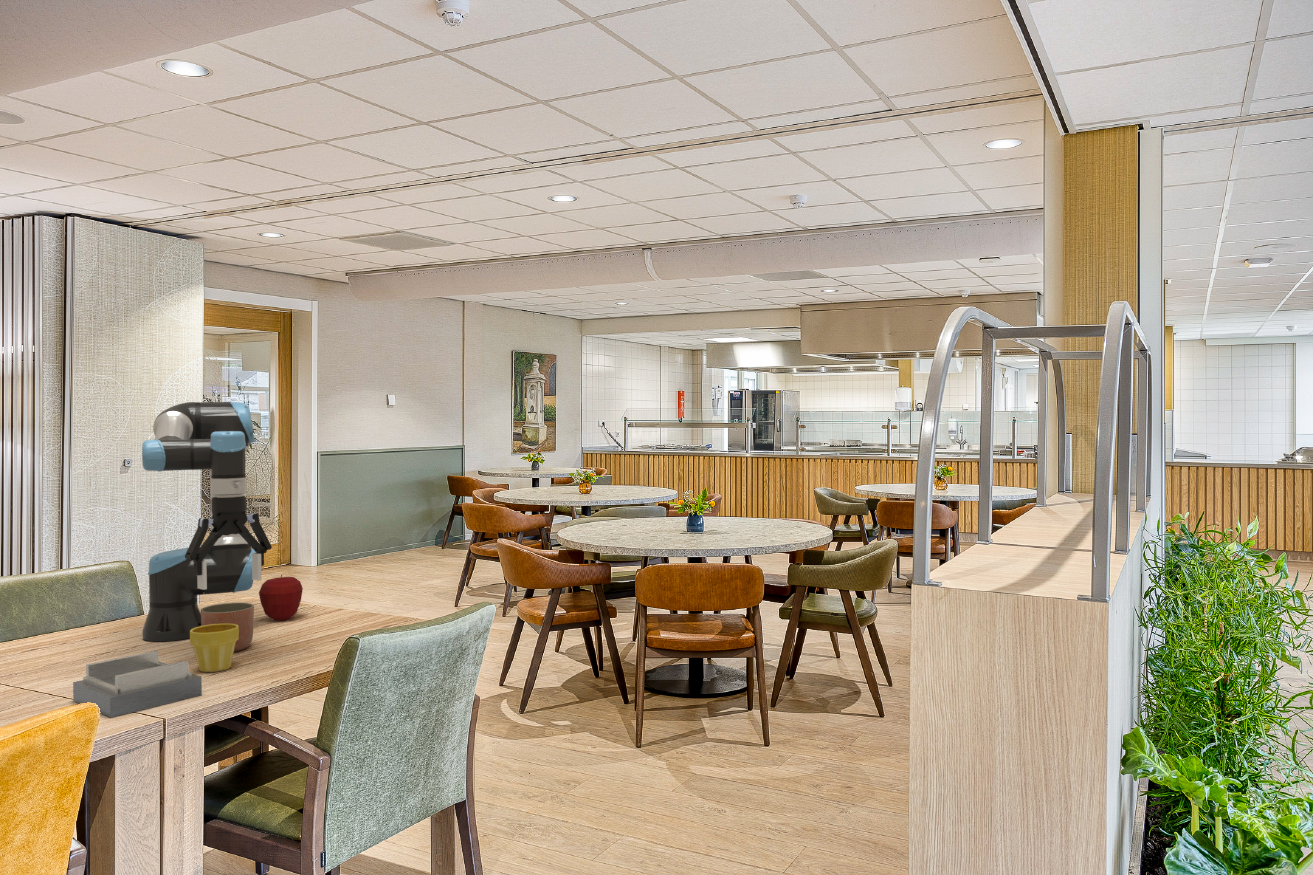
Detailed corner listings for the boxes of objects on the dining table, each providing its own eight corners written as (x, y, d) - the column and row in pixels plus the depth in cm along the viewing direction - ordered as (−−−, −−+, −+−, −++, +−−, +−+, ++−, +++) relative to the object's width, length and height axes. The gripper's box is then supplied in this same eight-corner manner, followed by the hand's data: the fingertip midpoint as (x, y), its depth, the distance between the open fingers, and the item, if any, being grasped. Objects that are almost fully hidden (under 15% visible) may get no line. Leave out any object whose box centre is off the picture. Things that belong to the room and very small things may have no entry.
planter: (265, 646, 233) (264, 604, 233) (224, 657, 222) (223, 614, 221) (231, 641, 238) (231, 600, 238) (190, 652, 227) (189, 609, 227)
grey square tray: (70, 699, 189) (70, 664, 189) (159, 679, 203) (159, 646, 203) (110, 717, 177) (109, 680, 177) (201, 694, 192) (201, 660, 192)
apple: (294, 613, 272) (294, 569, 272) (309, 619, 264) (308, 574, 264) (253, 619, 264) (253, 574, 264) (267, 625, 256) (266, 579, 255)
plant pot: (201, 663, 217) (201, 623, 217) (245, 662, 218) (245, 622, 217) (182, 675, 207) (182, 633, 206) (229, 674, 207) (228, 632, 207)
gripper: (184, 500, 201) (186, 594, 201) (285, 492, 221) (286, 577, 222) (167, 499, 205) (169, 590, 206) (268, 491, 226) (269, 575, 226)
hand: (230, 584), depth 214 cm, fingers open, 13 cm apart
